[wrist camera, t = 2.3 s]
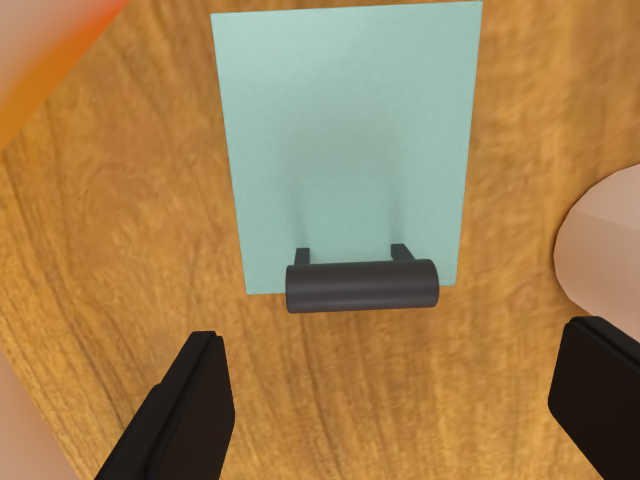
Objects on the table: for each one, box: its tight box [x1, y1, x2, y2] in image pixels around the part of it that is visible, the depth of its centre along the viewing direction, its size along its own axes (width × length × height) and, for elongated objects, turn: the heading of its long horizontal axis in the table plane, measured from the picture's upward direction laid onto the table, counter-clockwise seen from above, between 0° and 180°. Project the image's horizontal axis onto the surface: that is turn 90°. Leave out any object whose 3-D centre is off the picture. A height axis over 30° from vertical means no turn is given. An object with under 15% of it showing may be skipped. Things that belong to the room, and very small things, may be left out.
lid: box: [210, 1, 483, 313], centre depth 14 cm, size 13×12×6 cm
